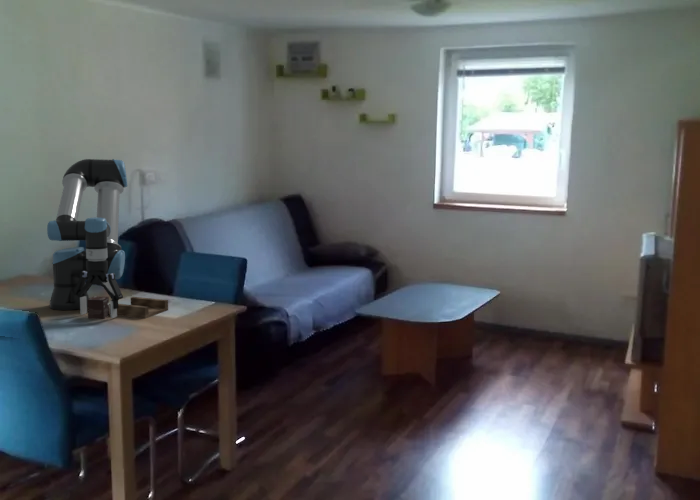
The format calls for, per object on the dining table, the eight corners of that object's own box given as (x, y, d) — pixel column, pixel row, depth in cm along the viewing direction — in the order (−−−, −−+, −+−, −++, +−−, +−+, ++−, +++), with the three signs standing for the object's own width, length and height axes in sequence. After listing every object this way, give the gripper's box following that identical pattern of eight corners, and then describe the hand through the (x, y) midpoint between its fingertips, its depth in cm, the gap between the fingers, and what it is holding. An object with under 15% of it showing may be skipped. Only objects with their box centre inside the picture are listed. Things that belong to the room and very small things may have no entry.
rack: (109, 314, 262) (109, 304, 261) (133, 306, 276) (133, 296, 275) (145, 318, 256) (145, 307, 256) (168, 310, 271) (168, 300, 270)
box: (103, 319, 254) (103, 299, 253) (87, 318, 254) (86, 299, 253) (109, 315, 260) (109, 296, 259) (93, 315, 260) (93, 296, 259)
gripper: (62, 258, 255) (64, 314, 257) (118, 263, 247) (120, 320, 250) (76, 256, 262) (78, 310, 265) (131, 260, 254) (133, 316, 257)
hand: (98, 315), depth 257 cm, fingers open, 13 cm apart
